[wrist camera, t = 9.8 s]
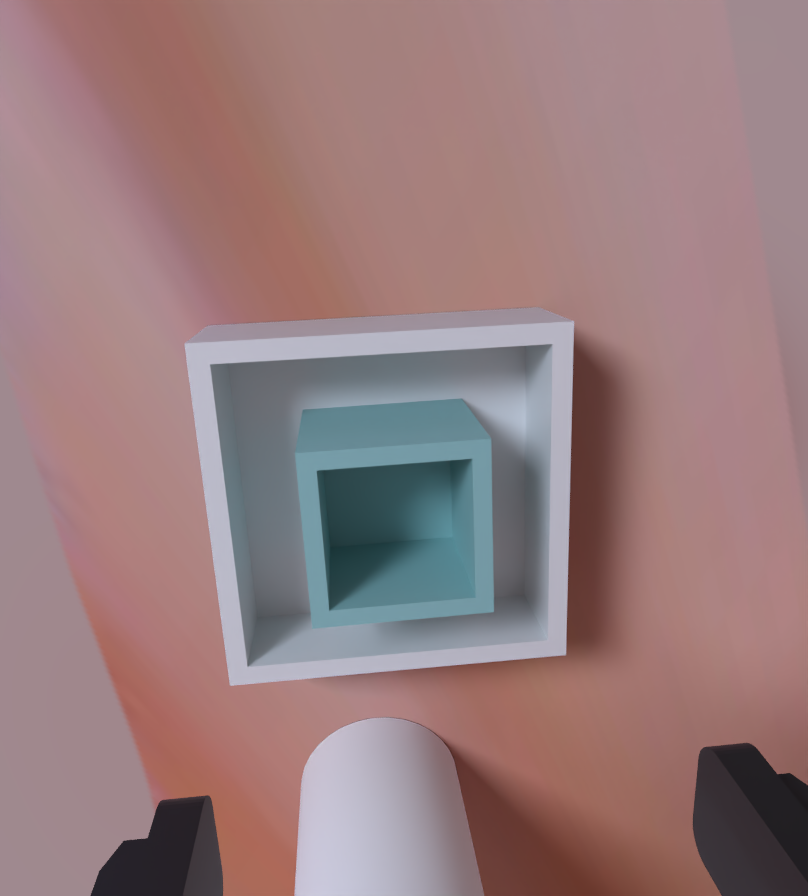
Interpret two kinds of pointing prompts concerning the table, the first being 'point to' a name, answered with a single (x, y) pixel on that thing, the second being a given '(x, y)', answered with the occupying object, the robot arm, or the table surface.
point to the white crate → (368, 383)
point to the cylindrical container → (383, 816)
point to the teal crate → (395, 512)
